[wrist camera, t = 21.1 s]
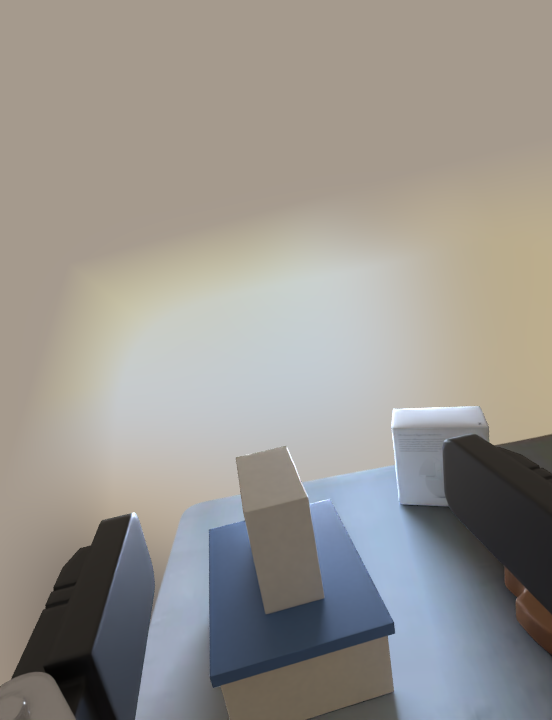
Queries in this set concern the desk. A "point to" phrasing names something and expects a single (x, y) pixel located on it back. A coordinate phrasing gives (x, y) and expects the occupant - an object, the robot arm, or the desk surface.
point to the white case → (279, 529)
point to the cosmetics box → (429, 448)
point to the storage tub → (296, 630)
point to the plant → (531, 613)
